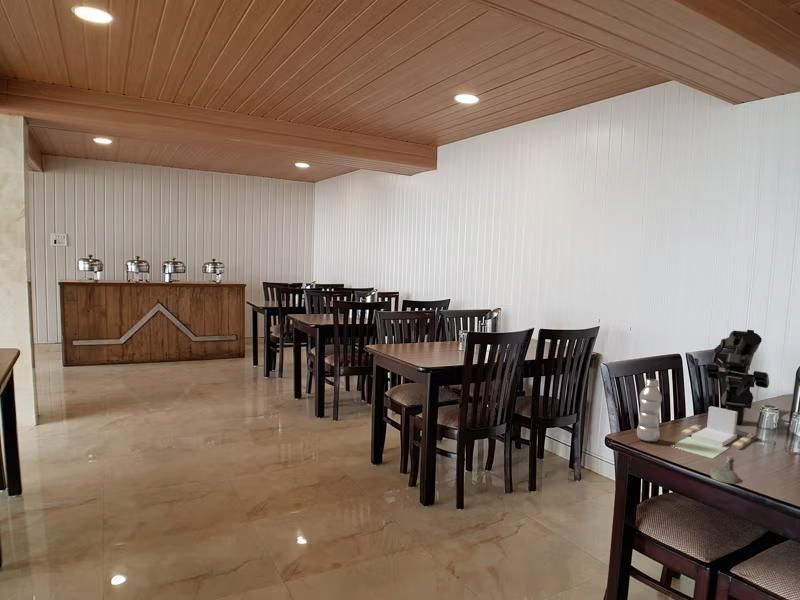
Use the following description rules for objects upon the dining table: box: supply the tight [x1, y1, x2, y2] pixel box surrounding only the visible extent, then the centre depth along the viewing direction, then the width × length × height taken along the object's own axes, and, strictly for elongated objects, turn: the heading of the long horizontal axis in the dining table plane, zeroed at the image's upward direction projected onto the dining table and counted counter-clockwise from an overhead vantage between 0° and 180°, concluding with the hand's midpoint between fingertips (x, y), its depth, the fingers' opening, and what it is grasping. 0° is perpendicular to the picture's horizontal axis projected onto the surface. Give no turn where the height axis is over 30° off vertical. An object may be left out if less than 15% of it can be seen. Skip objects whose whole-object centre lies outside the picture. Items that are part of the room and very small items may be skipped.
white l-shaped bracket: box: [690, 405, 738, 447], centre depth 171 cm, size 16×9×9 cm, turn 132°
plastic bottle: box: [636, 378, 663, 443], centre depth 165 cm, size 6×7×20 cm
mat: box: [671, 436, 730, 460], centre depth 161 cm, size 16×12×1 cm
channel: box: [680, 423, 752, 450], centre depth 172 cm, size 14×17×1 cm
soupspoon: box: [709, 455, 739, 485], centre depth 143 cm, size 22×3×7 cm
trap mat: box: [700, 422, 750, 438], centre depth 181 cm, size 7×16×1 cm, turn 42°
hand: (729, 393), depth 179 cm, fingers open, 4 cm apart
